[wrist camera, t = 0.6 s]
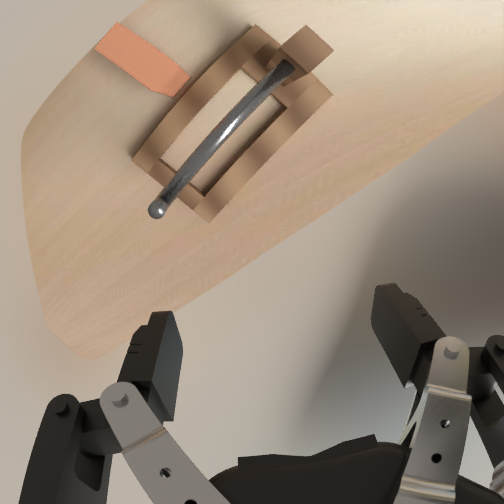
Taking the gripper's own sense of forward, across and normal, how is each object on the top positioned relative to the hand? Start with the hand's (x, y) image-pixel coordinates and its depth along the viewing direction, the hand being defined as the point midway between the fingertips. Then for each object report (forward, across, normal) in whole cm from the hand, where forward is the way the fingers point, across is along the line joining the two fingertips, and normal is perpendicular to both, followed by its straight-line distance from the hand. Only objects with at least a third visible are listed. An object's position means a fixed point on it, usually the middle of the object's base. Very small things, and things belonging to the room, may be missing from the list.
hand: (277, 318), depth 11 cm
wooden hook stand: (+26, +1, -7) cm, 27 cm away
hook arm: (+17, +2, -6) cm, 18 cm away
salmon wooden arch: (+26, +8, -14) cm, 31 cm away
